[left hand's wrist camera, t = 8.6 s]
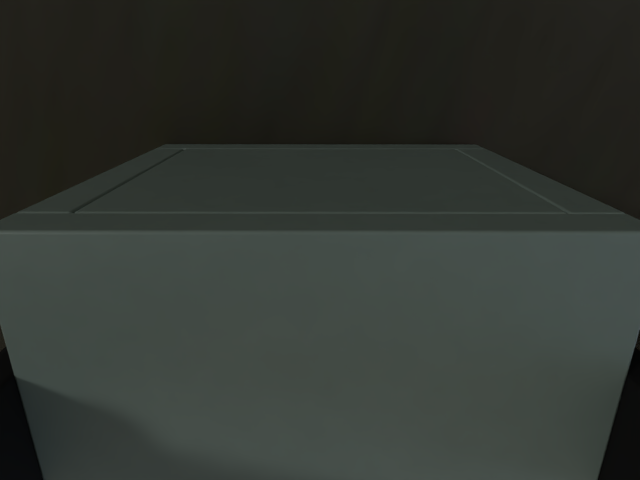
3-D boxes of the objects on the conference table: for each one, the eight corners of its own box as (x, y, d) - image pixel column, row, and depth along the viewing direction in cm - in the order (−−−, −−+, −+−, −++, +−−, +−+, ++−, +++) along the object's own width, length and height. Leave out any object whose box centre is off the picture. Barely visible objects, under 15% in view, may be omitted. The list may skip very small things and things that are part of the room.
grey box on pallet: (435, 498, 23) (513, 787, 13) (204, 497, 23) (126, 786, 13) (477, 144, 17) (668, 232, 7) (163, 143, 17) (-28, 230, 7)
